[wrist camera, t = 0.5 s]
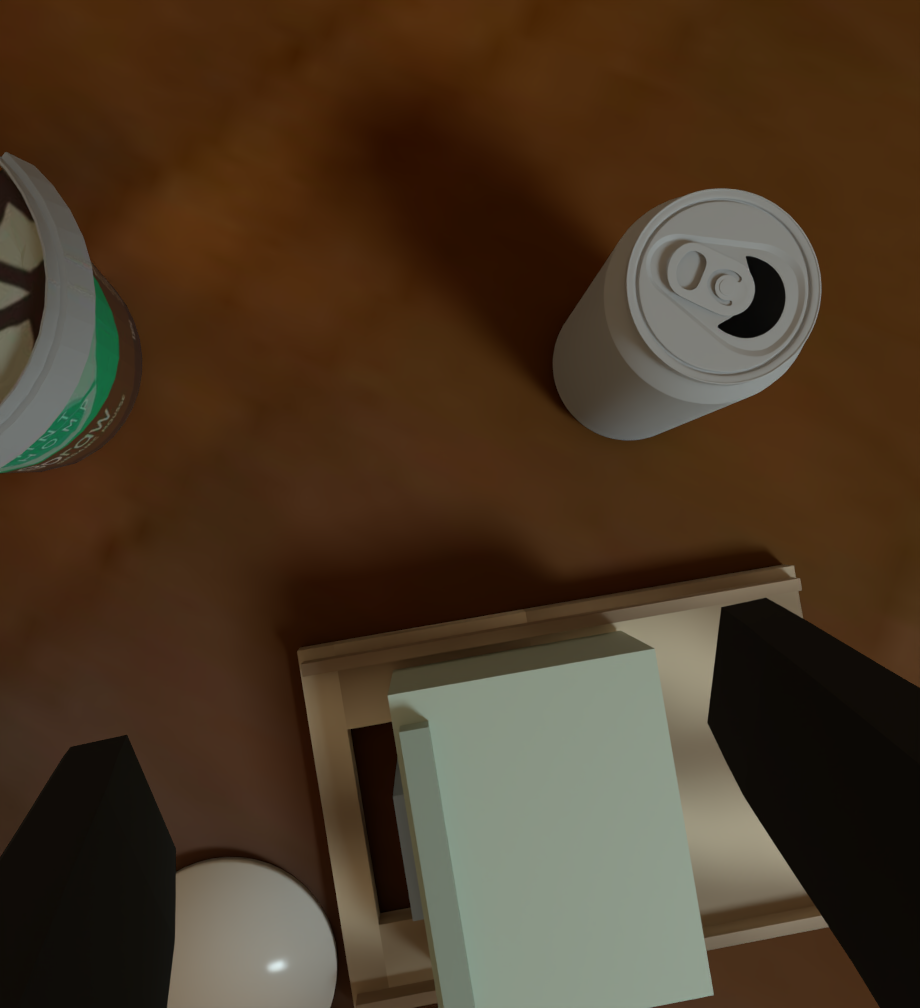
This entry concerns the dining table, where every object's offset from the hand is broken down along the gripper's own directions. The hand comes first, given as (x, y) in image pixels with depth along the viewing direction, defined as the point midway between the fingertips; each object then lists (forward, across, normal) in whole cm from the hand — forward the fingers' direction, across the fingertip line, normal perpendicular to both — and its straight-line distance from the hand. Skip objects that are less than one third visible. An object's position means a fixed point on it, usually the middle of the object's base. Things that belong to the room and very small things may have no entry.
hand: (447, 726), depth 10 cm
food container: (+27, +11, +6) cm, 29 cm away
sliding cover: (+14, -5, +20) cm, 25 cm away
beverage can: (+24, -12, +6) cm, 27 cm away
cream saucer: (+13, +9, +26) cm, 30 cm away
